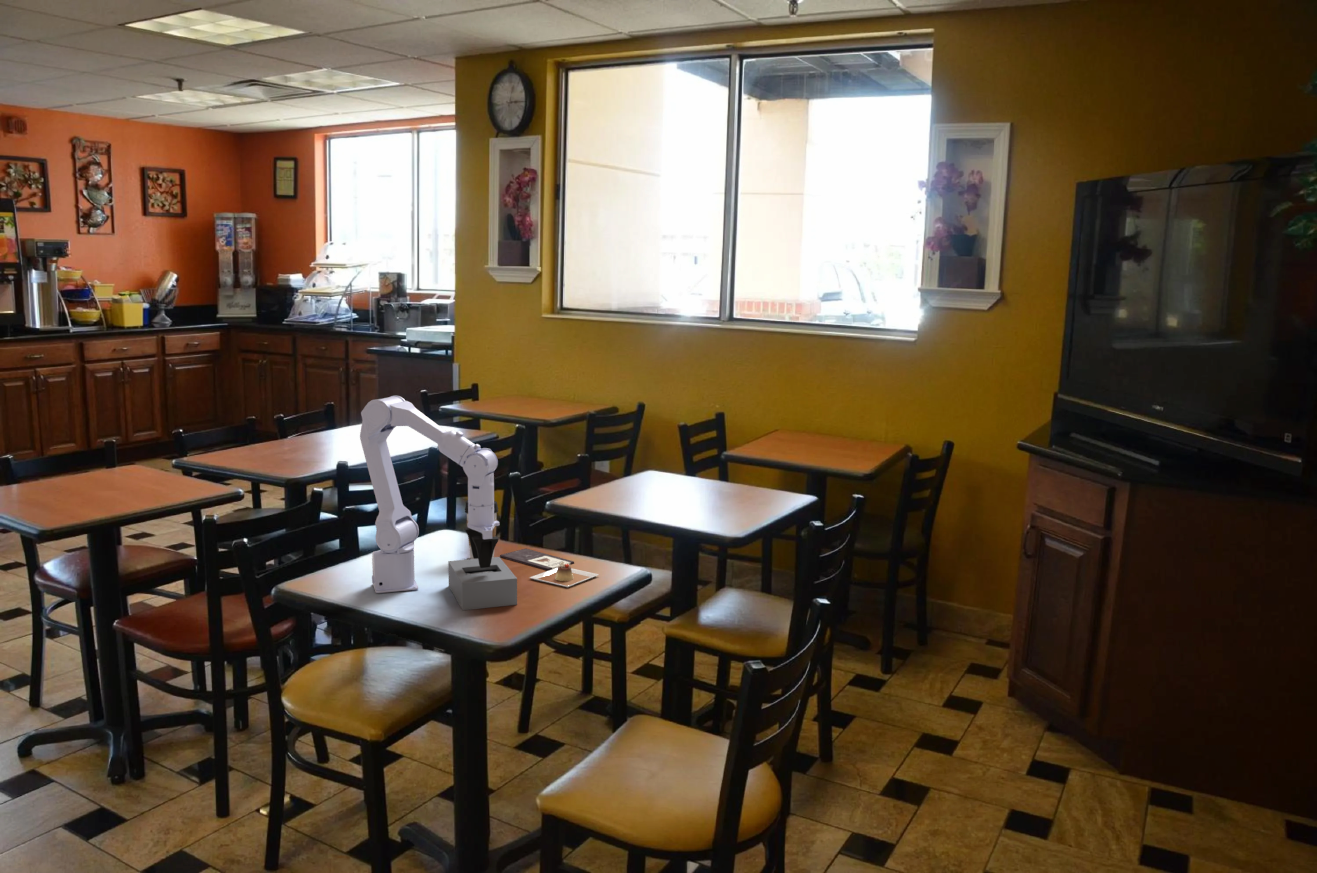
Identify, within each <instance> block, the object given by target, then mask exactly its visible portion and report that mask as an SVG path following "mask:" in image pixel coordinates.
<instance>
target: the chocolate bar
mask: <svg viewBox="0 0 1317 873" xmlns="http://www.w3.org/2000/svg"><path fill="white" fill-rule="evenodd" d="M499 557H500V558H501V559H502V558H503V559H506V560H510V561H512V562H516V563H520V564H524V565H526V566H530V567H534V568H536V569H537V568H538V569H541V570H543V571H549V570H552V569H554V568H557V567H559V564H560V563H561V562H564V564H569V566H571V565H573V564H575V561H574V560H569V559H566V558H563V557H560V556H555V555H551V554H547V553H544V552H541V551H538V550H533V549H530V548H521V549H518V550H517V549H516V550H515V551H509V552H507V553H502V554H499ZM566 562H567V563H566Z"/></svg>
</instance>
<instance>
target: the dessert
mask: <svg viewBox="0 0 1317 873" xmlns="http://www.w3.org/2000/svg"><path fill="white" fill-rule="evenodd" d="M566 563H567V562H566ZM555 573H556V574H555ZM553 574H555V577H554V580H556V581H559V582H569V581H572V580H574V579H575V577H574V574H577V575H580V576H585V577H587V578H585V579H582V580H579V581H577V582H575V583H572V584H569V585H564V584H560V583H556V582H552V581H548V580H543V579H541V578H544V577H547V576H550V575H553ZM597 576H600V574H599V573H594V572H589V571H585V570H580V569H576V568H572V567H571V565H569V564H564V562H561V563H560V564H559V567H557V568H554V569H552V570H549V571H547V570H545V571H544V572H540V573H537V574H536V575H532V576H529V577H528V578H529V579H531V580H534V581H538V582H543V583H547V584H550V585H554V586H559V587H564V588H567V589H568V588H569V587H573V586H575V585H578V584H580V583H583V582H586V581H589V580H591V579H593V578H595V577H597Z"/></svg>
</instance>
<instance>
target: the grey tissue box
mask: <svg viewBox="0 0 1317 873" xmlns="http://www.w3.org/2000/svg"><path fill="white" fill-rule="evenodd" d="M447 563H448V564H447V565H448V566H447V567H448V568H447V569H448V587H449V589H450V591H451V592H452V594H453V596H454V598H455V599H456V602H457V603H458V605H459V606H460V608H461V609H462V611H467V610H469V611H470V610H477V609H479V610H480V609H485V608H487V609H488V608H497V607H507V606H517V605H518V577H517V576H516V575H515V574H514V573H513V572H512V570H511V569H510V568H509V567H508V565H507V564H506V563H505V562H504V560H502V557H500V556H494V557H492V560H491V564H490V567H487V568H480V565H479V561H478V559H471V558H470V559H459V560H457V559H456V560H448V562H447ZM488 571H493V572H489V573H478V574H466V573H477V572H488Z"/></svg>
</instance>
